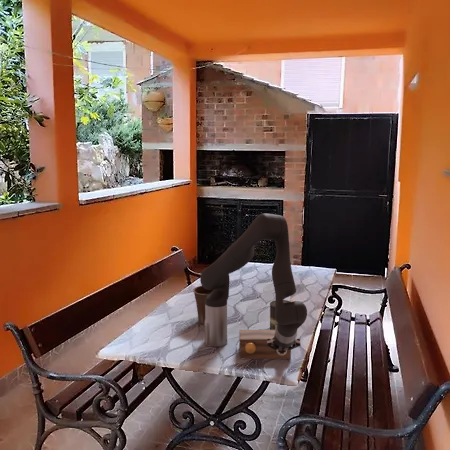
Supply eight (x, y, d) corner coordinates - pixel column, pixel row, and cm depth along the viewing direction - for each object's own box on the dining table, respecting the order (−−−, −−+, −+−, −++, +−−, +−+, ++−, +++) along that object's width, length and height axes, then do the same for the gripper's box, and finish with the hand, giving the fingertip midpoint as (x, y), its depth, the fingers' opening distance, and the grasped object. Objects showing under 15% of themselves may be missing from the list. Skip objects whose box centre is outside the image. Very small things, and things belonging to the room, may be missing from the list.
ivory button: (286, 355, 186) (287, 345, 185) (276, 355, 186) (276, 345, 185) (284, 348, 192) (285, 339, 192) (274, 348, 192) (275, 339, 192)
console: (290, 358, 190) (291, 339, 189) (240, 358, 190) (240, 339, 189) (287, 348, 200) (288, 329, 198) (239, 348, 200) (239, 329, 199)
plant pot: (197, 329, 220) (197, 295, 218) (190, 317, 236) (190, 286, 233) (231, 326, 225) (231, 292, 222) (222, 314, 240) (222, 283, 237)
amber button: (255, 353, 188) (255, 343, 187) (245, 353, 188) (245, 343, 187) (254, 346, 194) (254, 337, 193) (244, 346, 194) (244, 337, 193)
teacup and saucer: (300, 310, 247) (300, 302, 246) (284, 309, 249) (285, 301, 248) (301, 305, 256) (301, 297, 255) (286, 304, 257) (286, 296, 256)
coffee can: (265, 334, 215) (265, 303, 213) (277, 327, 223) (278, 298, 220) (284, 340, 208) (285, 308, 206) (297, 332, 216) (297, 302, 214)
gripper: (303, 323, 173) (298, 342, 187) (266, 323, 173) (263, 341, 187) (305, 343, 169) (299, 360, 183) (267, 343, 169) (264, 360, 183)
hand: (281, 351), depth 185 cm, fingers closed
